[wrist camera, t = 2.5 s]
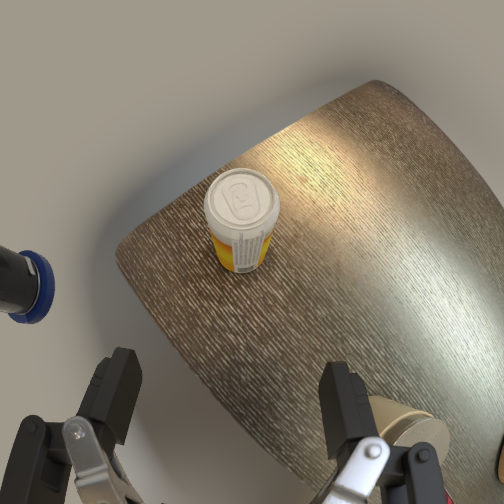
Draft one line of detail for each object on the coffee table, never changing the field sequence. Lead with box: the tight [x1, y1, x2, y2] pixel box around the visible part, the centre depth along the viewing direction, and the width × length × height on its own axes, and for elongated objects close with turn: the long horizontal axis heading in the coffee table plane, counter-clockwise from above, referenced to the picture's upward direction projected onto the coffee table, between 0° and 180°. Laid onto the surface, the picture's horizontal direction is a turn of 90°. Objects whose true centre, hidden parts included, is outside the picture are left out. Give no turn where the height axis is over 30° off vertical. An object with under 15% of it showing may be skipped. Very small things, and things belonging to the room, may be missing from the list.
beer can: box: [204, 168, 280, 273], centre depth 29 cm, size 6×6×15 cm
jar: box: [368, 395, 434, 439], centre depth 25 cm, size 9×9×12 cm
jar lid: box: [382, 414, 450, 466], centre depth 20 cm, size 8×8×2 cm
